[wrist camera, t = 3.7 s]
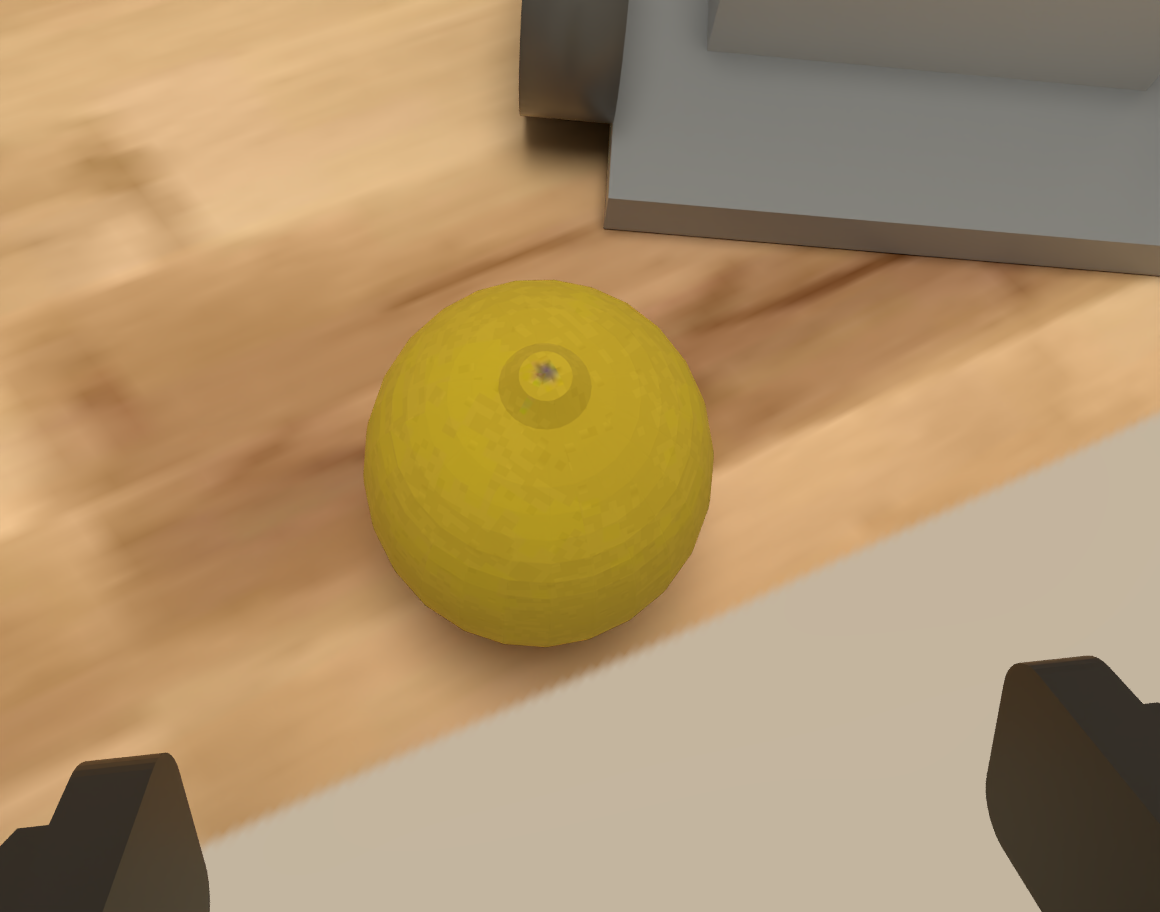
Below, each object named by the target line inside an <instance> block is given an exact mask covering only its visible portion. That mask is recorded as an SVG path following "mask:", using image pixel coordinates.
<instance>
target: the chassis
mask: <svg viewBox="0 0 1160 912" xmlns="http://www.w3.org/2000/svg"><path fill="white" fill-rule="evenodd" d="M519 111H520V115H521V116H530V117H541V118H552V119H564V120H575V121H586V122H597V123H608V124H610V135H609V151H608V167H607V183H606V199H605V216H604V228H605V229H617V230H629V231H641V232H652V233H664V234H676V235H688V236H699V237H711V238H723V239H735V240H746V241H758V242H770V243H781V244H793V245H805V246H817V247H828V248H840V249H852V250H864V251H875V252H887V253H899V254H910V255H922V256H934V257H946V258H957V259H969V260H981V261H993V262H1004V263H1016V264H1028V265H1039V266H1051V267H1063V268H1075V269H1086V270H1098V271H1110V272H1122V273H1133V274H1145V275H1157V276H1160V0H522V12H521V33H520V61H519Z"/></svg>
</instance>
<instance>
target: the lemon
mask: <svg viewBox="0 0 1160 912" xmlns="http://www.w3.org/2000/svg"><path fill="white" fill-rule="evenodd" d="M713 460H714V452H713V446H712V440H711V435H710V429H709V423H708V417H707V412H706V406H705V403H704V400H703V398H702V395H701V393H700V391H699V389H698V387H697V385H696V382H695V380H694V378H693V376H692V374H691V372H690V369H689V367H688V365H687V363H686V361H685V360H684V358H683V357H682V356H681V355H680V353H679V352H678V351H677V350H676V349H675V347H674V346H673V345H672V344H671V342H670V341H669V340H668V339H667V337H666V336H665V335H664V334H663V332H662V331H661V330H660V329H659V328H658V327H657V326H656V325H655V324H654V323H652V322H651V321H650V320H648V319H647V318H646V317H644V316H643V315H642V314H641V313H639V312H638V311H637V310H635V309H634V308H633V307H631V306H630V305H629V304H627V303H626V302H623V301H621V300H619V299H617V298H614V297H612V296H610V295H608V294H605V293H603V292H601V291H599V290H596V289H594V288H592V287H587V286H582V285H577V284H572V283H567V282H562V281H557V280H528V281H513V282H509V283H505V284H501V285H498V286H494V287H490V288H486V289H482V290H479V291H476V292H474V293H473V294H471V295H469V296H467V297H465V298H463V299H461V300H459V301H457V302H455V303H454V304H452V305H450V306H448V307H446V308H444V309H443V310H442V311H440V312H439V313H438V314H437V315H436V316H435V317H433V318H432V319H431V320H430V321H429V322H428V323H427V324H426V325H424V326H423V327H422V328H421V329H420V330H419V331H418V332H416V333H415V334H414V335H413V336H412V337H411V338H410V339H409V340H408V342H407V343H406V345H405V346H404V348H403V349H402V351H401V352H400V354H399V355H398V357H397V358H396V360H395V361H394V363H393V364H392V366H391V367H390V369H389V370H388V372H387V373H386V375H385V377H384V379H383V382H382V384H381V387H380V390H379V393H378V396H377V399H376V402H375V404H374V407H373V410H372V413H371V416H370V419H369V422H368V426H367V433H366V446H365V460H364V473H363V475H364V485H365V490H366V495H367V500H368V505H369V509H370V514H371V519H372V524H373V527H374V530H375V532H376V534H377V536H378V538H379V540H380V542H381V544H382V546H383V548H384V550H385V552H386V554H387V556H388V558H389V560H390V562H391V564H392V566H393V568H394V570H395V571H396V573H397V574H398V575H399V576H400V577H401V578H402V579H403V581H404V582H405V583H406V584H407V585H408V586H409V587H410V588H411V590H412V591H413V592H414V593H415V594H416V595H417V596H418V598H419V599H420V600H421V601H422V602H423V603H424V604H425V605H426V606H427V607H429V608H430V609H432V610H433V611H435V612H436V613H438V614H439V615H441V616H443V617H444V618H446V619H447V620H449V621H450V622H452V623H453V624H455V625H456V626H458V627H459V628H461V629H462V630H464V631H467V632H470V633H473V634H476V635H479V636H482V637H485V638H488V639H491V640H494V641H497V642H500V643H503V644H511V645H525V646H538V647H550V646H556V645H561V644H567V643H572V642H577V641H583V640H588V639H591V638H593V637H595V636H597V635H599V634H601V633H603V632H606V631H608V630H610V629H612V628H614V627H616V626H618V625H620V624H623V623H625V622H627V621H629V620H630V619H632V618H633V617H634V616H635V615H637V614H638V613H639V612H640V611H641V610H643V609H644V608H645V607H646V606H647V605H649V604H650V603H651V602H652V601H653V600H655V599H656V598H657V597H658V596H660V595H661V594H662V593H663V592H664V591H665V590H666V589H667V587H668V586H669V584H670V583H671V582H672V580H673V579H674V577H675V576H676V574H677V573H678V572H679V570H680V569H681V567H682V566H683V565H684V563H685V562H686V560H687V559H688V558H689V556H690V555H691V553H692V551H693V549H694V546H695V543H696V541H697V538H698V535H699V532H700V530H701V527H702V524H703V521H704V519H705V516H706V513H707V510H708V507H709V502H710V493H711V482H712V471H713Z"/></svg>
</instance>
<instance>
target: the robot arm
mask: <svg viewBox="0 0 1160 912" xmlns="http://www.w3.org/2000/svg"><path fill="white" fill-rule="evenodd" d="M986 799H987V806H988V810H989V816H990V819H991V822H992V825H993V829H994V831H995V834H996V836H997V838H998V841H999V843H1000V844H1001V846H1002V848H1003V850H1004V851H1005V853H1006V855H1007V856H1008V858H1009V859H1010V861H1011V863H1012V864H1013V866H1014V867H1015V869H1016V871H1017V872H1018V874H1019V876H1020V877H1021V879H1022V880H1023V882H1024V884H1025V885H1026V887H1027V889H1028V890H1029V892H1030V893H1031V895H1032V897H1033V898H1034V900H1035V902H1036V903H1037V905H1038V906H1039V908H1040V910H1041V911H1042V912H1160V703H1149V704H1143V703H1142V702H1141V701H1140V700H1139V699H1138V698H1137V697H1136V696H1135V695H1134V694H1133V693H1132V691H1131V690H1130V689H1129V688H1128V687H1127V686H1126V685H1125V684H1124V683H1123V682H1122V681H1121V679H1120V678H1119V677H1118V676H1117V675H1116V674H1115V673H1114V672H1113V671H1112V670H1111V669H1110V667H1108V666H1107V665H1106V664H1105V663H1104V662H1103V661H1102V660H1100V659H1099V658H1096V657H1093V656H1080V657H1072V658H1071V657H1070V658H1062V659H1052V660H1043V661H1033V662H1024V663H1018V664H1014V665H1013V666H1012V667H1011V668H1010V669H1009V670H1008V672H1007V674H1006V677H1005V681H1004V685H1003V691H1002V696H1001V701H1000V707H999V712H998V718H997V723H996V729H995V734H994V740H993V745H992V750H991V756H990V761H989V766H988V772H987V778H986ZM0 912H210V895H209V881H208V875H207V870H206V865H205V862H204V858H203V855H202V851H201V847H200V844H199V840H198V837H197V833H196V830H195V826H194V822H193V819H192V815H191V812H190V808H189V805H188V801H187V797H186V794H185V790H184V787H183V783H182V780H181V776H180V772H179V769H178V766H177V764H176V762H175V760H174V758H173V757H172V755H170V754H169V753H159V754H150V755H141V756H132V757H122V758H113V759H104V760H95V761H85V762H83V763H81V764H79V765H78V766H77V767H76V769H75V770H74V771H73V773H72V775H71V777H70V779H69V781H68V784H67V786H66V788H65V790H64V793H63V795H62V797H61V799H60V801H59V804H58V806H57V808H56V810H55V813H54V815H53V817H52V819H51V822H50V824H49V825H45V826H36V827H27V828H18V829H17V830H16V831H15V832H14V833H13V834H12V835H11V836H10V837H9V838H8V839H7V840H6V841H5V842H4V843H3V844H2V845H1V846H0Z"/></svg>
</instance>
